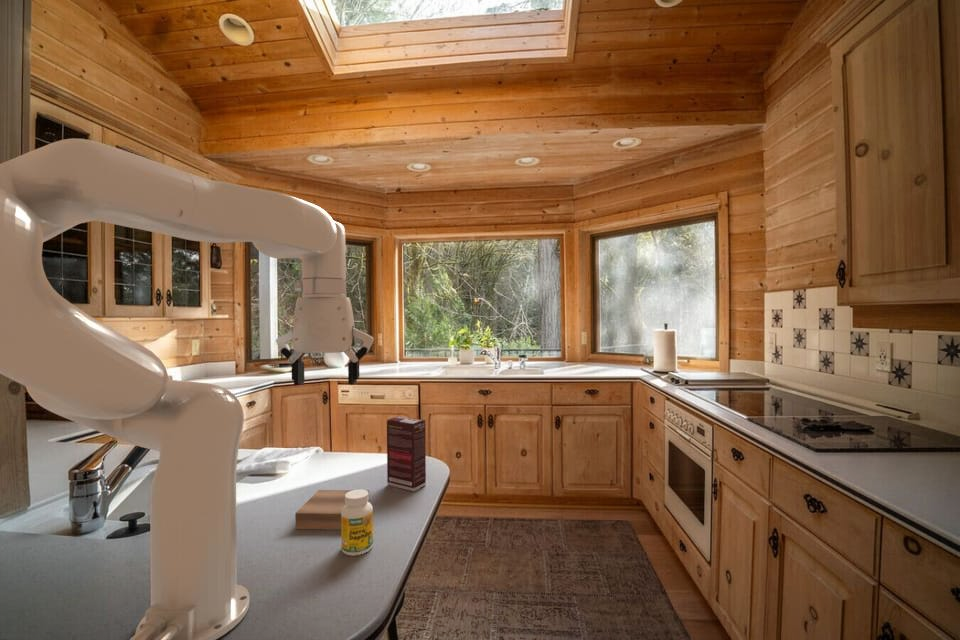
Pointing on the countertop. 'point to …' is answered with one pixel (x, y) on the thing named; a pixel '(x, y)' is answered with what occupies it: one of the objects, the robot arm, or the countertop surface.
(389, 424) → the supplement box
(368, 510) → the supplement bottle
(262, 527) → the countertop surface
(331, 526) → the square wooden block
